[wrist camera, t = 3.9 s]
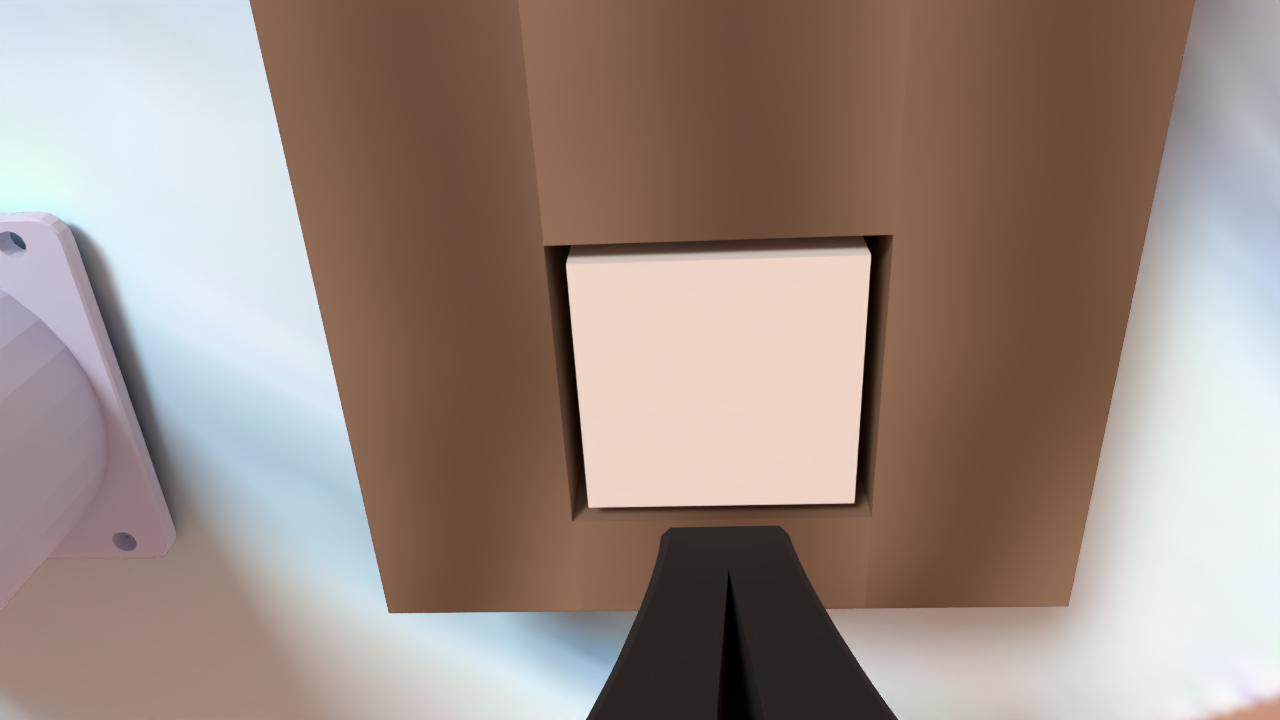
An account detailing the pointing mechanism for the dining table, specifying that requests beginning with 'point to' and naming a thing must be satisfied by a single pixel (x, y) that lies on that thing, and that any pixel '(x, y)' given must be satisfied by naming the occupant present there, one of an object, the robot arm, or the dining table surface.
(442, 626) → the dining table surface
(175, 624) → the dining table surface
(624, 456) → the pale pink block
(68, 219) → the dining table surface
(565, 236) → the panel
